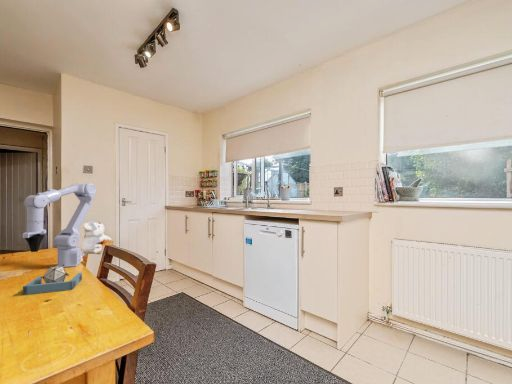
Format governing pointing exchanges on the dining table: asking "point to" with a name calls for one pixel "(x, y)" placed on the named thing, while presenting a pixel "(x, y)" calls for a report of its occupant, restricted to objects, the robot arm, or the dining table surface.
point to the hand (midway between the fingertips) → (34, 251)
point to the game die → (55, 274)
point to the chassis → (50, 285)
